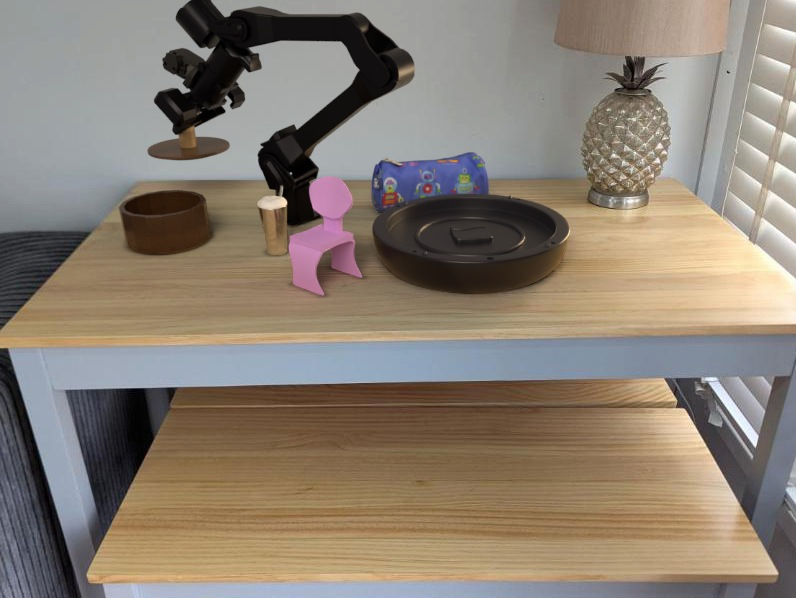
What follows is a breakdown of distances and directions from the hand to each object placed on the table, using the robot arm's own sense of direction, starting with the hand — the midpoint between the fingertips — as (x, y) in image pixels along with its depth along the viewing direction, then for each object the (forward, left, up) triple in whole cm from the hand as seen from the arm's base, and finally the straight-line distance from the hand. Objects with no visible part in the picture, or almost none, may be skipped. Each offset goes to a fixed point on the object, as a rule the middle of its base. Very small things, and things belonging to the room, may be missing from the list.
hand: (180, 130), depth 140 cm
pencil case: (-36, -28, -14) cm, 47 cm away
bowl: (-14, +14, -13) cm, 24 cm away
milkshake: (-32, +5, -14) cm, 35 cm away
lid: (-1, 0, -3) cm, 3 cm away
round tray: (-57, -13, -14) cm, 60 cm away
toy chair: (-47, +8, -14) cm, 49 cm away
